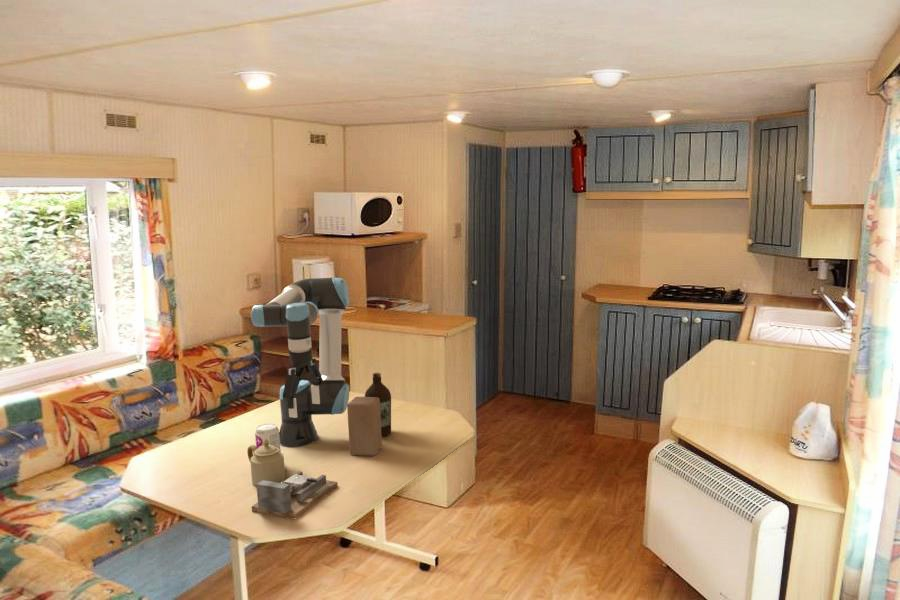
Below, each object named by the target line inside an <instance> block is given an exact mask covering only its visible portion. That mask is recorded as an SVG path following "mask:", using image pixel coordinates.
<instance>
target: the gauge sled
mask: <svg viewBox="0 0 900 600" xmlns="http://www.w3.org/2000/svg"><path fill="white" fill-rule="evenodd" d="M292 475H293V476H292ZM292 475H291V476H289V477H290V478H289V477H288V478H287V480H286V479H285V480H284V484H289V485H290V495H296V493H297V492H299V491H300V490H301V489H303V488H304V487H306V486H307V485H308V484H310V483H311V482H317V480H315V479H312V478H313V477H312V476H307V475H303V476H302V475H296V474H295V473H294V474H292Z"/></svg>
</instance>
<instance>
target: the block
mask: <svg viewBox="0 0 900 600" xmlns="http://www.w3.org/2000/svg"><path fill="white" fill-rule="evenodd" d="M346 410H347V411H346V412H347V425H348V443H349V444H348V445H349V455H351V456H367V457H369V456H371V457H374V456H376V455H377V453H378V452H379V451H380V449H381V448H382V446H383V443H382V442H383V440H382V438H383V437H382V436H381V416H380V399H379V398H378V397H365V396H355V397H353V399H352V400H351V401H350V400H349V401H348V405H347V408H346Z"/></svg>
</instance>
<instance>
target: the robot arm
mask: <svg viewBox="0 0 900 600" xmlns="http://www.w3.org/2000/svg"><path fill="white" fill-rule="evenodd" d="M347 283H348V282H347V281H346V280H345V279H344V278H341V277H319V278H317V277H316V278H315V277H314V278H304V279H303V278H302V279H301V280H297V281H295V282H292V283H291V284H289V285H287V286H286V287H284V288H283V290H281V293H280V294H279V295H277V296H276V297H275V298H273V299H272V300H271V301H269V302H268V303H265V304H257V305H253V306H252V308H251V313H250V319H251V323H252V325H253V326H254V327H261V328H267V327H268V328H269V327H286V328H287V329H286V330H287V344H288V350H289V352H288V354H289V355H288V356H289V362H290V363H291V364H292V368H286V378H285V383H284V384H283V385H282V386H281V387H280V389H279V403H280V415H281V418H280V419H281V425H280V428H279V437H280V446H281V445H282V446H284V447H301V446H307V445H309V444H312V443H314V442H316V441H317V439H318V432H317V429H316V427H315V426H316V425H315V424H314V422H313V418H312V415H319V416H321V415H332V416H333V415H341V414H344V413H345V412H346V410H347V405H348V403H349V402H350V400H349V399H350V385H349V384H347V383H346V379H345V377H344V376H342V316H343V314H344V313H346V308H347V307H349V306H350V301H351V299H350V292H349V291H350V290H349V287H348V284H347ZM318 318H319V339H318V340H319V342H318V343H319V344H318V345H319V351H318V352H319V353H318V356H319V358H318V360H319V363H318V364H319V365H318V364H317V359H316V358H313V349H312V333H311V325H312V324H313V323H315V322H316V321H317V319H318ZM304 377H306V378H307V379H308V380H306V379H303V378H304ZM310 382H311V383H310Z"/></svg>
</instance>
